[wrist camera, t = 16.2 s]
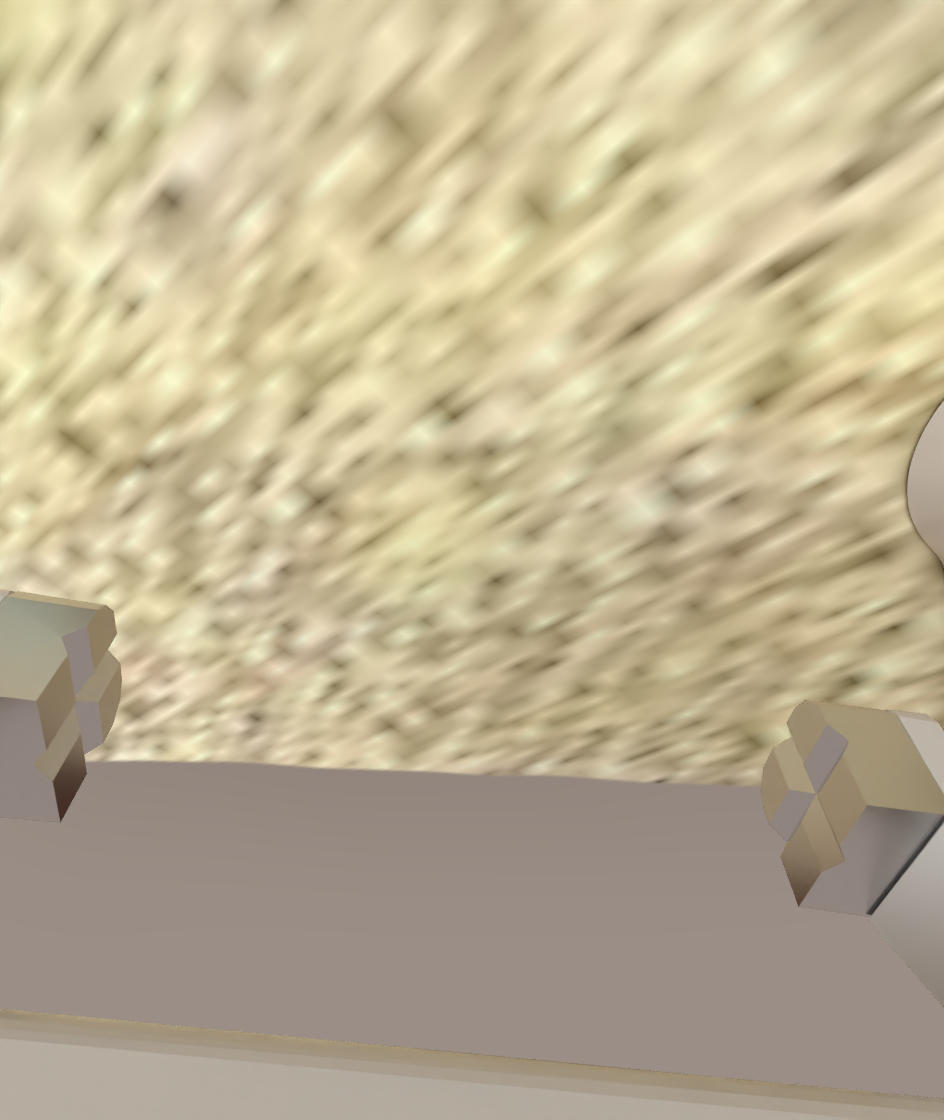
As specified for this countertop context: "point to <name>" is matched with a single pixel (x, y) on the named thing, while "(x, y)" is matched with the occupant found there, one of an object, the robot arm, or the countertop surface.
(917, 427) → the countertop surface
